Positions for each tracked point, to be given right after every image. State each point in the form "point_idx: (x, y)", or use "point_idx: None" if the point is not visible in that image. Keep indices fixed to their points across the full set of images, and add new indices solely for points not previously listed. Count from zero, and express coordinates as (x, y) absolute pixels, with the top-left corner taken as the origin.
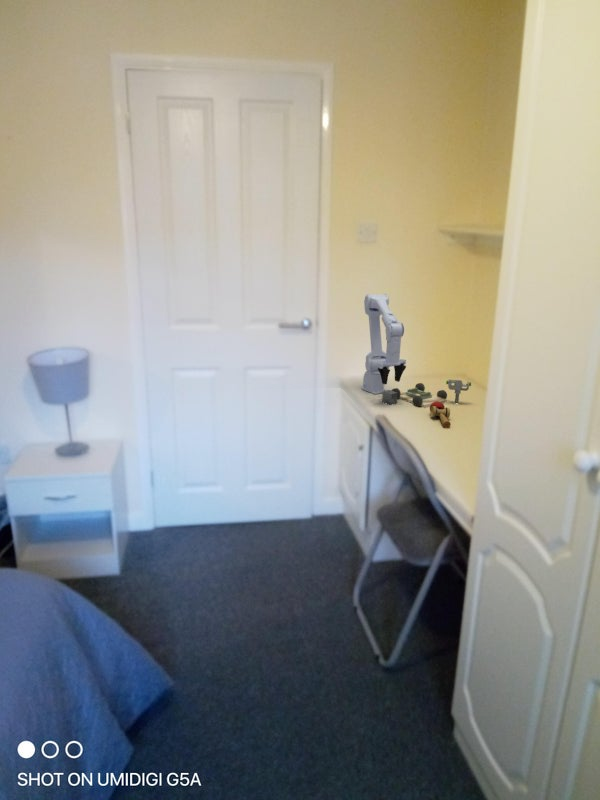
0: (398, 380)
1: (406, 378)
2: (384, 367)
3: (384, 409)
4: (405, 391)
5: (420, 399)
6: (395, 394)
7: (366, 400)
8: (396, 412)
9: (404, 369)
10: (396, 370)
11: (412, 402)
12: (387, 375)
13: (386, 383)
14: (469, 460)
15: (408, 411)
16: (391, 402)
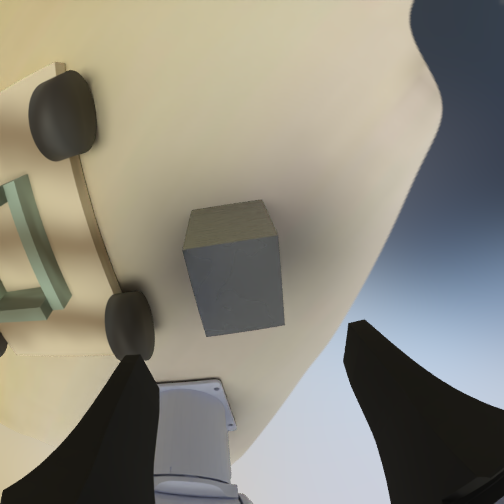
0: (136, 367)
1: (29, 424)
2: (498, 496)
3: (358, 142)
4: (54, 342)
5: (53, 78)
6: (211, 239)
7: (328, 323)
8: (326, 51)
9: (27, 478)
10: (141, 498)
11: (80, 175)
12: (429, 402)
13: (360, 326)
14: None
15: (227, 26)
16: (251, 207)
